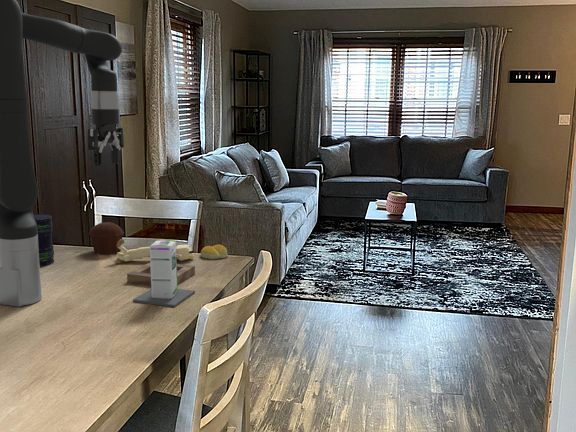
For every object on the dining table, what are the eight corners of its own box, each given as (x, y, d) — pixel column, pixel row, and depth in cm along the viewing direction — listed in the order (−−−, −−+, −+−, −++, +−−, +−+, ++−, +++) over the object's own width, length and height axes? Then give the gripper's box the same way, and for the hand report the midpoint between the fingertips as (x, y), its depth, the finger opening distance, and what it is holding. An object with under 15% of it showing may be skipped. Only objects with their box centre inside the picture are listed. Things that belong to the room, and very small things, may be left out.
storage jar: (20, 260, 186) (17, 214, 183) (53, 257, 190) (51, 213, 187) (21, 268, 177) (17, 221, 174) (55, 265, 181) (52, 218, 178)
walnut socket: (172, 287, 163) (172, 279, 162) (127, 282, 167) (127, 273, 166) (195, 273, 176) (195, 265, 176) (152, 268, 180) (152, 261, 180)
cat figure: (117, 270, 183) (196, 261, 188) (113, 243, 181) (194, 235, 186) (119, 261, 192) (195, 253, 197) (116, 236, 190) (192, 228, 195)
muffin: (131, 249, 203) (130, 221, 201) (113, 257, 192) (112, 227, 190) (101, 246, 206) (100, 218, 204) (82, 253, 195) (81, 225, 193)
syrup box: (172, 299, 152) (171, 245, 149) (150, 298, 152) (149, 244, 149) (177, 292, 157) (177, 240, 154) (156, 291, 158) (155, 239, 155)
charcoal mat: (174, 307, 148) (174, 305, 147) (133, 301, 151) (133, 299, 151) (195, 292, 159) (195, 290, 159) (156, 287, 162) (155, 285, 162)
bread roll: (197, 255, 198) (197, 243, 198) (222, 252, 202) (222, 241, 201) (205, 261, 191) (205, 249, 190) (230, 258, 195) (230, 247, 194)
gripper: (101, 108, 157) (104, 167, 160) (130, 107, 170) (131, 162, 173) (78, 107, 159) (80, 166, 162) (108, 107, 172) (110, 161, 175)
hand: (107, 164), depth 167 cm, fingers open, 8 cm apart
